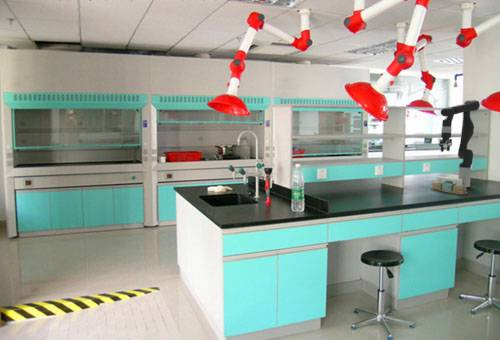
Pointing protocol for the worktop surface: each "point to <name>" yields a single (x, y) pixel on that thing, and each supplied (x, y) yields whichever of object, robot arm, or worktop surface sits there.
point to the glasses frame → (450, 180)
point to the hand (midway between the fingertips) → (445, 151)
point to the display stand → (449, 187)
